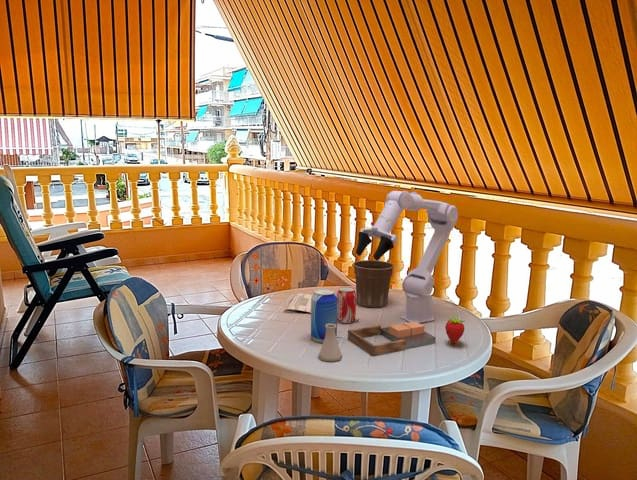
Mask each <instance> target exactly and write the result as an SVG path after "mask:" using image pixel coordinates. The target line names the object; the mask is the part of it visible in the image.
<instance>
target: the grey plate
mask: <svg viewBox="0 0 637 480" xmlns="http://www.w3.org/2000/svg"><path fill="white" fill-rule="evenodd" d="M380 336H382V337H384V338H385V339H387V340H388V341H389V342H393V341H398V340H406V350H407V349H412V348H417V347H423V346H427V345H432V344H436V339H437V338H436V336H434V335H432V334H430V333H428V332H426V331H425V330H424V333H422V334H416V335H411V336H405V337H400V338H397V337H395V336H394V335H392V334H390V333H389V326H387V327H381V335H380Z"/></svg>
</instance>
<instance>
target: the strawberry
mask: <svg viewBox="0 0 637 480" xmlns="http://www.w3.org/2000/svg"><path fill="white" fill-rule="evenodd" d="M458 315H459V314H457V315H456V316H455V317H452V318H449V319H448V320H447V322H446V323H445V333H446V336H447V338H448V339H449V340H450V343H451V344H452V345H455V344H456V343H457V342H459V340H461V339H460V338H462V336H463V335H464V332H465V324H464V323H466V322H465V320H461V319H460V318H457V317H458Z"/></svg>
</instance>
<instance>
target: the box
mask: <svg viewBox="0 0 637 480" xmlns="http://www.w3.org/2000/svg"><path fill="white" fill-rule="evenodd" d="M381 328H382V326H381V325H379V324H378V325H373V326H365V327H360V328H355V329H348V330H347V340H348V341H349V342H352V343H353V344H354V345H356V346H357V347H359V348H360V349H362V350H363V351H364V352H365V353H367V354H369V355H370V356H372V357H376V356H379V355H387V354H391V353H396V352H401V351H405V350H407V349H406V340H398V341H393V342H392V341H389V342H382V343H378V344H373V343H371V342H370V341H369V340H367V339H365V338H368V337H375V336H382V335H381Z"/></svg>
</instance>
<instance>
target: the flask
mask: <svg viewBox="0 0 637 480" xmlns="http://www.w3.org/2000/svg"><path fill="white" fill-rule="evenodd" d="M325 327H326V336H325V340H324V342H323V343H322V345H321V348H320V351H319V353H318V355H317V357H318V359H320V360H321V361H323V362H331V363H332V362H338V361H341V359H342V358H343V354H342V352H341V349H340V346H339V343H338V339H337V336H336V334H335V328H336V325H335V324H326V326H325Z"/></svg>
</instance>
